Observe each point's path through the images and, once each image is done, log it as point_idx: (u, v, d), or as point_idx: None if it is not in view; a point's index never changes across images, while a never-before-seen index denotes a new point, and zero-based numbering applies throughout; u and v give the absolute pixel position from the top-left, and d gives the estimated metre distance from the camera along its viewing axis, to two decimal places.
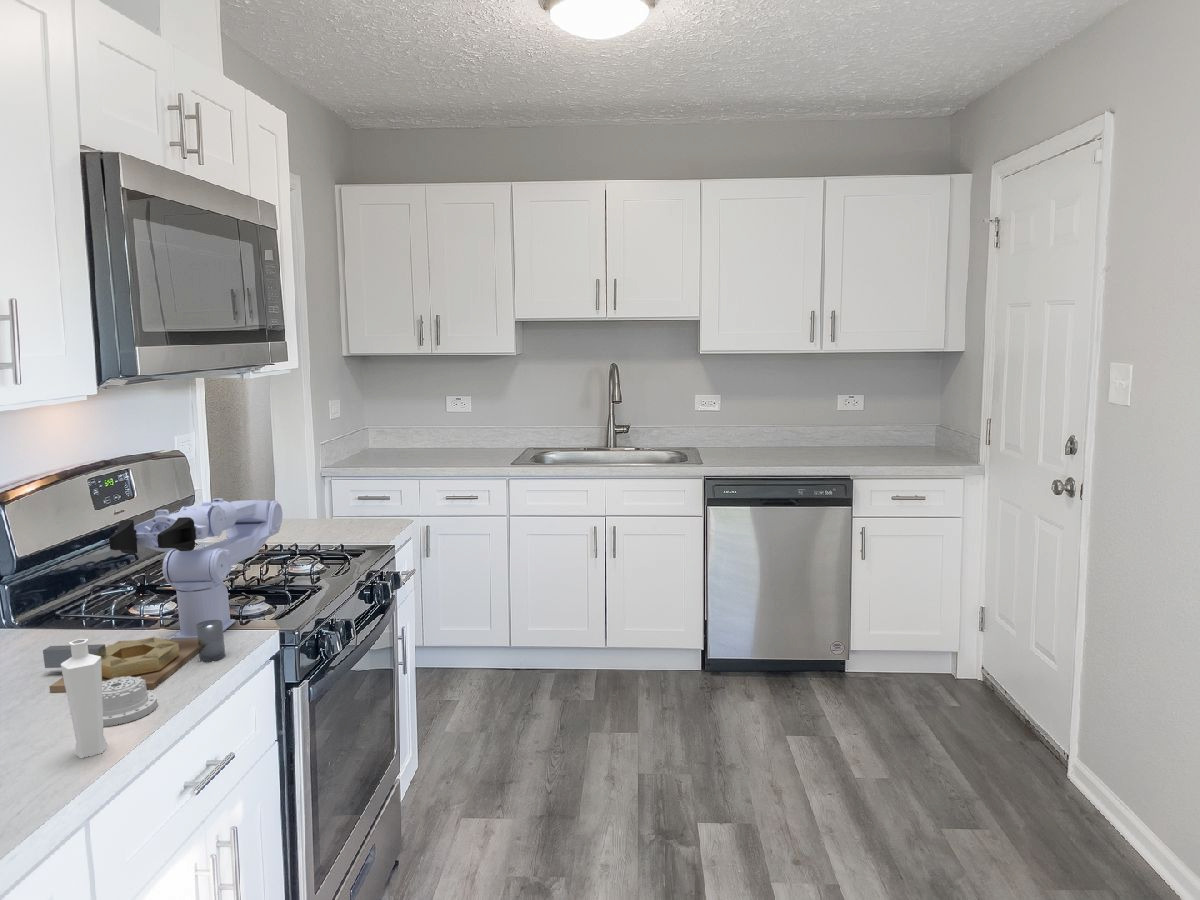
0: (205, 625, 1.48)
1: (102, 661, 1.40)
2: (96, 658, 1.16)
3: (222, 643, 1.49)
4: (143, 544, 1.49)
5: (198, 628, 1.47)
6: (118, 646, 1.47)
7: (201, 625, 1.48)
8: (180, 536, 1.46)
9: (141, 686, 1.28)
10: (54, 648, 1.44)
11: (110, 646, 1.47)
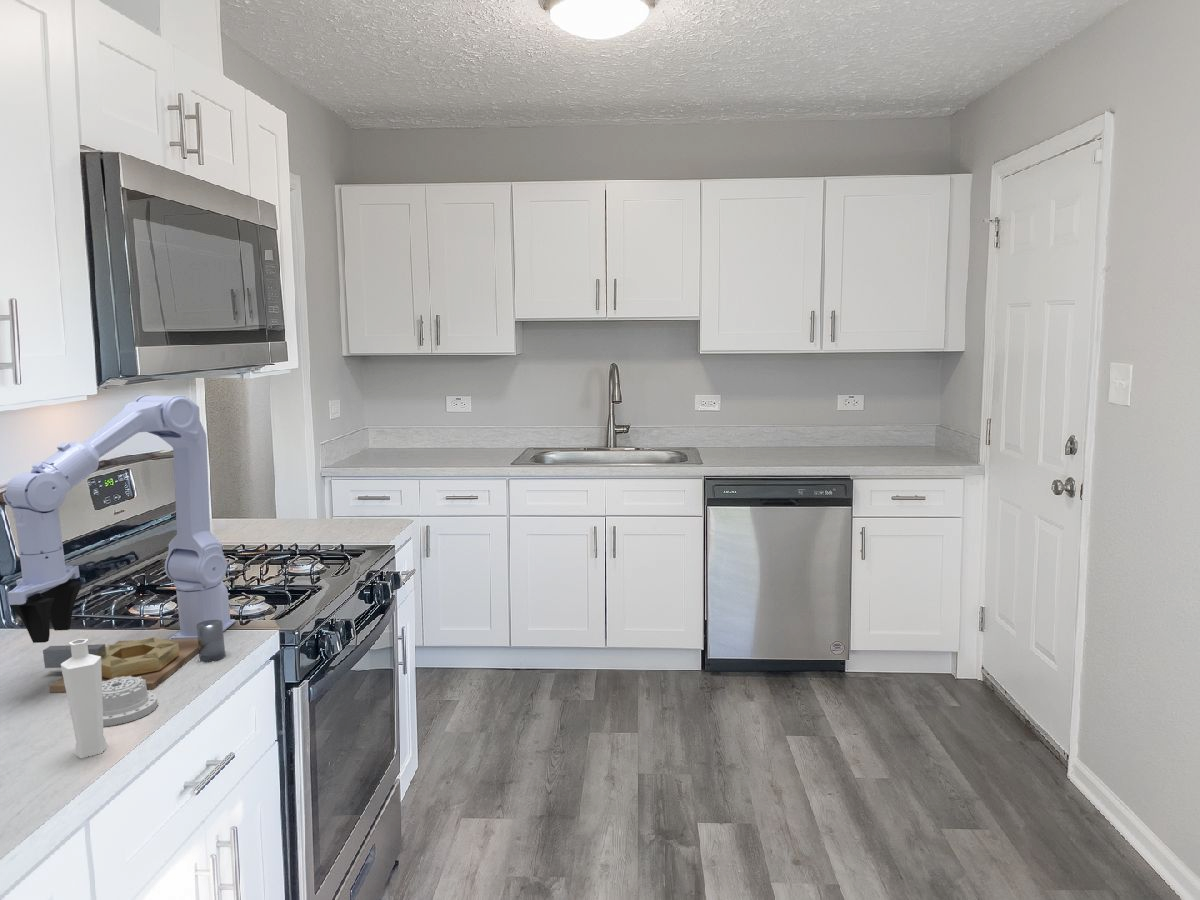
0: (205, 625, 1.48)
1: (102, 661, 1.40)
2: (96, 658, 1.16)
3: (222, 643, 1.49)
4: None
5: (198, 628, 1.47)
6: (118, 646, 1.47)
7: (201, 625, 1.48)
8: (35, 606, 1.34)
9: (141, 686, 1.28)
10: (54, 648, 1.44)
11: (110, 646, 1.47)
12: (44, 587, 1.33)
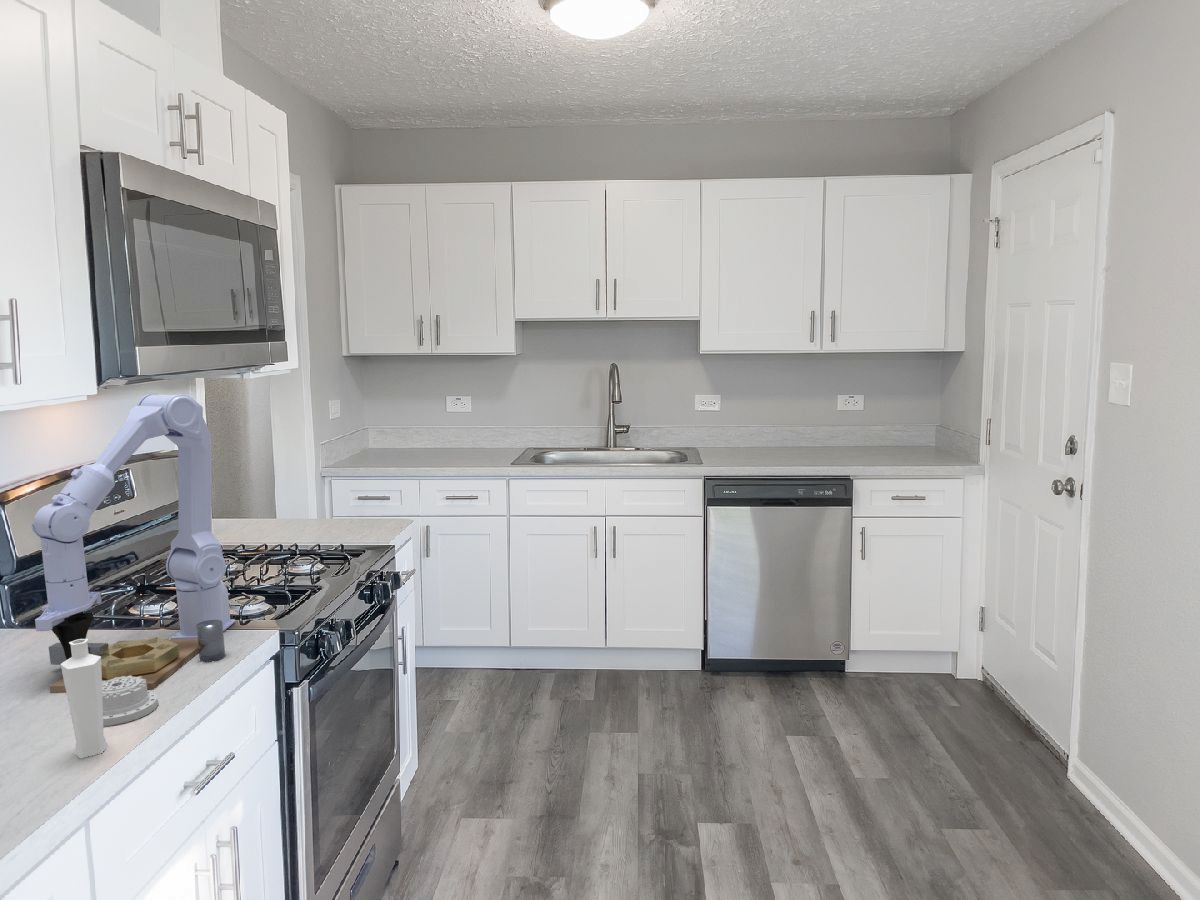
0: (205, 625, 1.48)
1: (101, 660, 1.41)
2: (96, 658, 1.16)
3: (222, 643, 1.49)
4: None
5: (198, 628, 1.47)
6: (121, 645, 1.47)
7: (201, 625, 1.48)
8: (71, 626, 1.42)
9: (142, 686, 1.28)
10: (60, 645, 1.45)
11: (114, 645, 1.47)
12: (69, 614, 1.39)
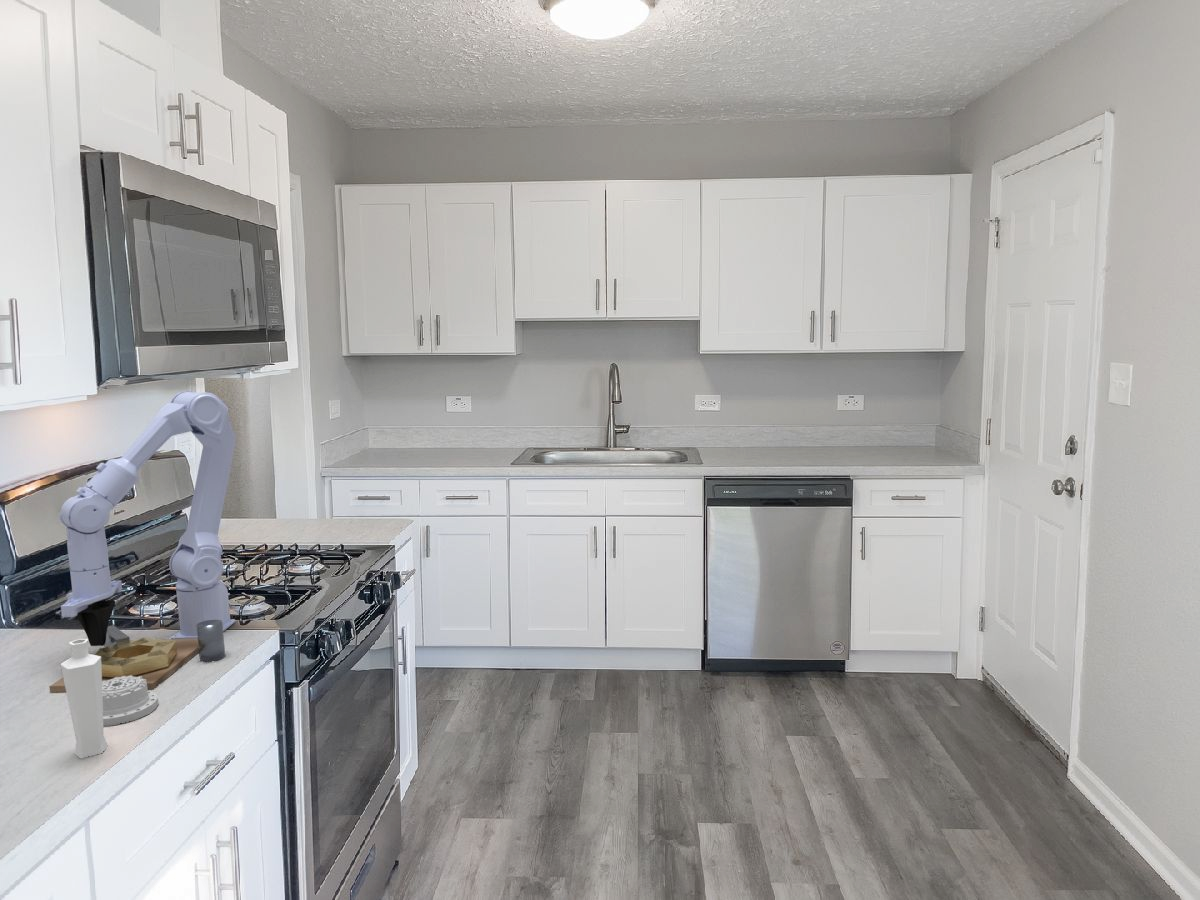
0: (205, 625, 1.48)
1: (100, 654, 1.43)
2: (96, 658, 1.16)
3: (222, 643, 1.49)
4: None
5: (198, 628, 1.47)
6: (142, 642, 1.49)
7: (201, 625, 1.48)
8: (93, 613, 1.49)
9: (142, 686, 1.28)
10: (108, 628, 1.53)
11: (139, 640, 1.50)
12: (93, 601, 1.46)
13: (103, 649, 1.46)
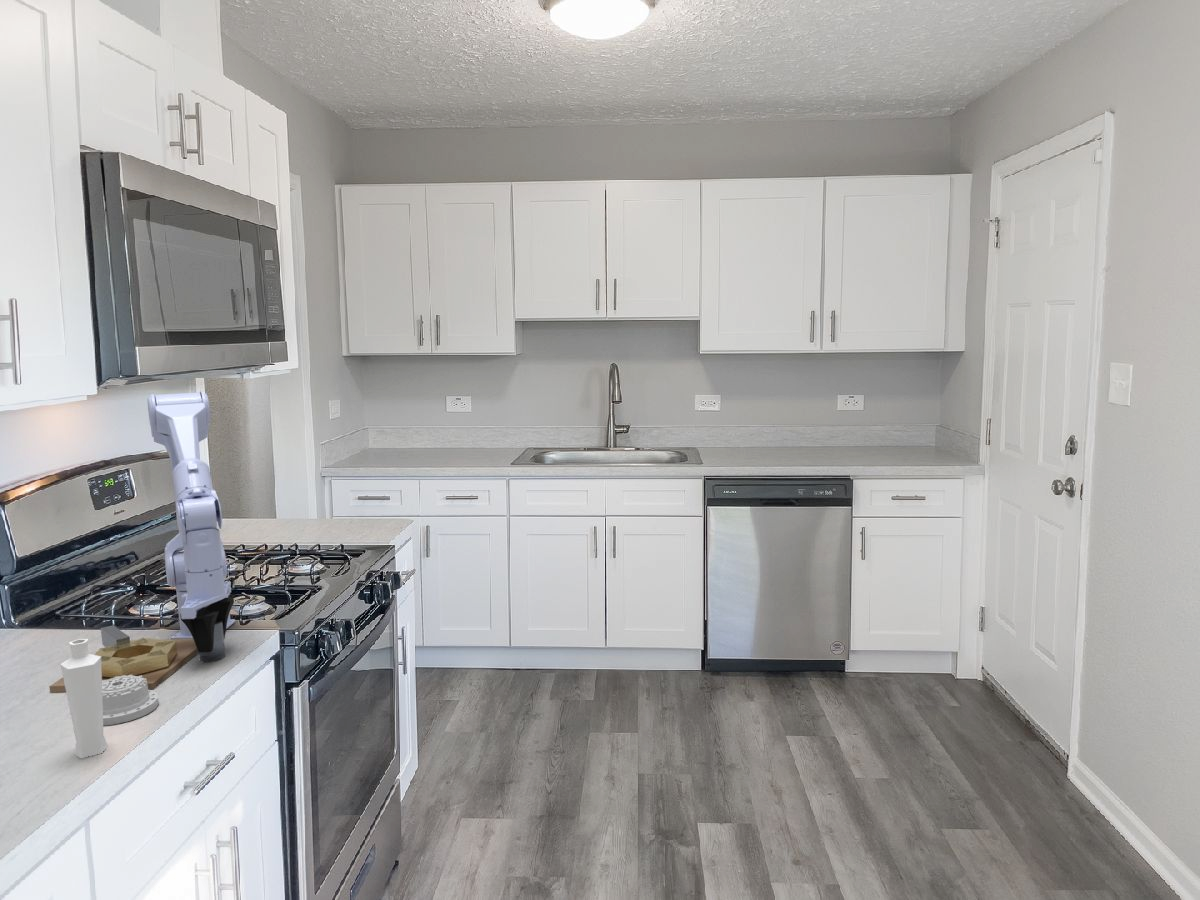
0: None
1: (100, 654, 1.43)
2: (96, 658, 1.16)
3: (222, 643, 1.49)
4: None
5: None
6: (142, 641, 1.49)
7: None
8: (202, 619, 1.46)
9: (142, 685, 1.29)
10: (108, 628, 1.53)
11: (139, 640, 1.50)
12: (209, 602, 1.45)
13: (103, 649, 1.46)
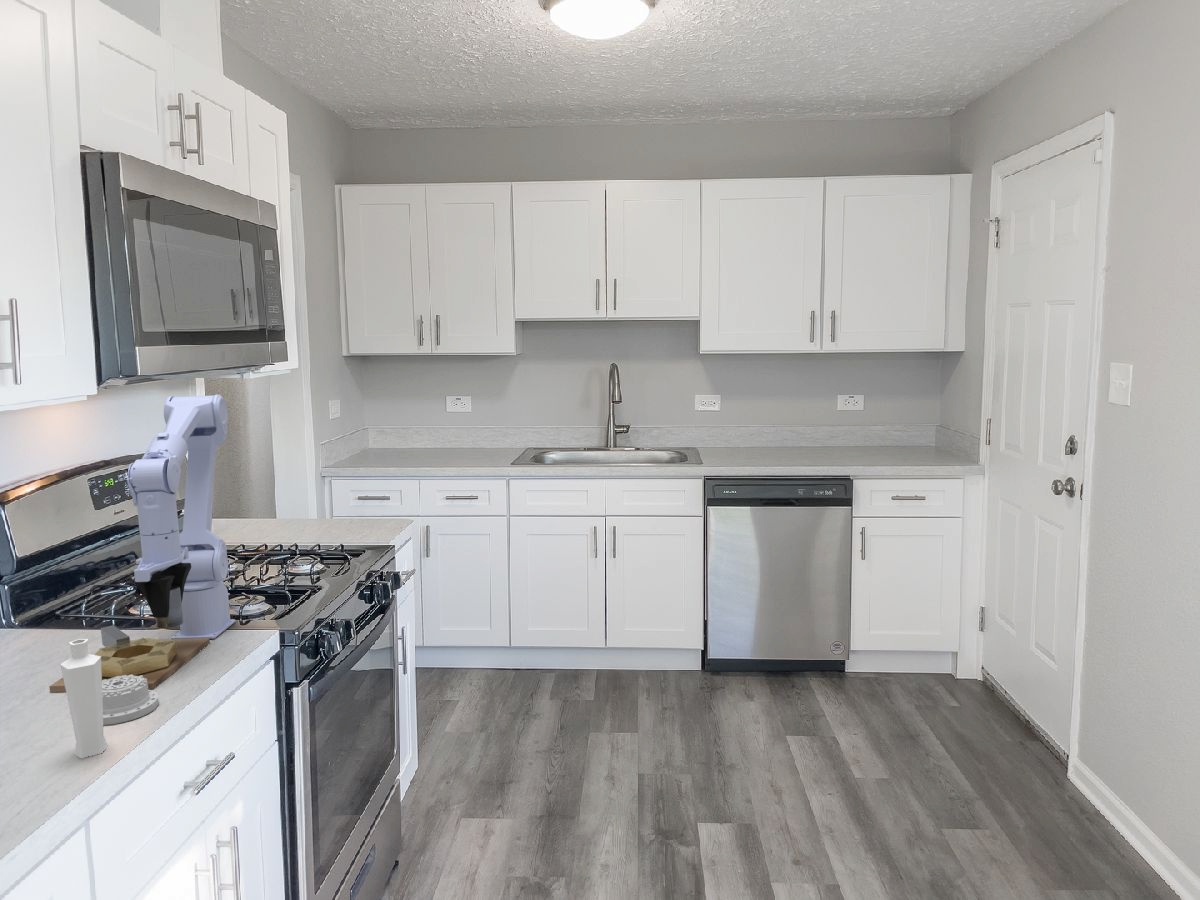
0: None
1: (100, 654, 1.43)
2: (96, 658, 1.16)
3: (180, 609, 1.46)
4: None
5: None
6: (142, 641, 1.49)
7: None
8: (157, 583, 1.42)
9: (143, 685, 1.29)
10: (108, 628, 1.53)
11: (139, 640, 1.50)
12: (165, 566, 1.41)
13: (103, 649, 1.46)
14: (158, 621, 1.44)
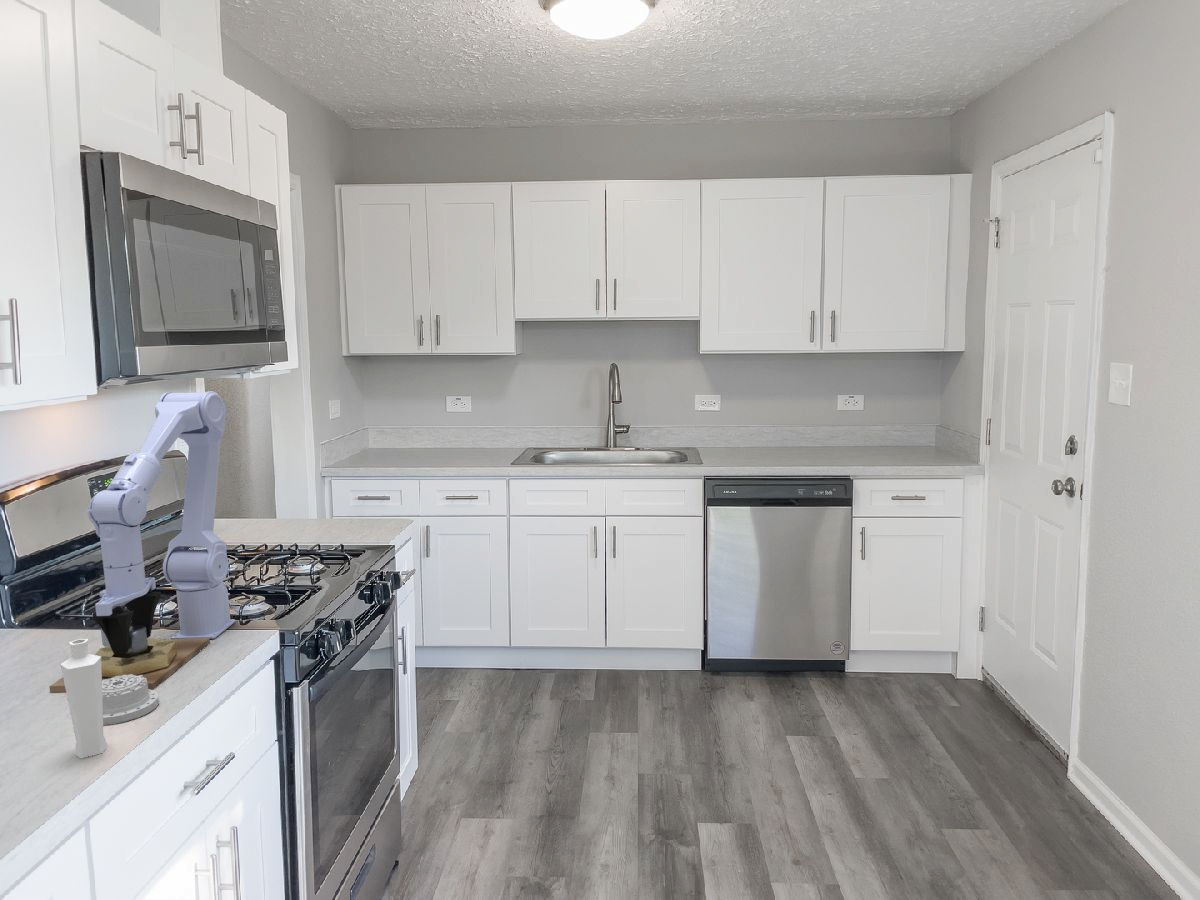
0: None
1: (100, 654, 1.43)
2: (96, 658, 1.16)
3: (146, 649, 1.44)
4: None
5: None
6: None
7: None
8: (116, 618, 1.39)
9: (142, 684, 1.29)
10: None
11: None
12: (128, 599, 1.40)
13: (103, 649, 1.46)
14: None
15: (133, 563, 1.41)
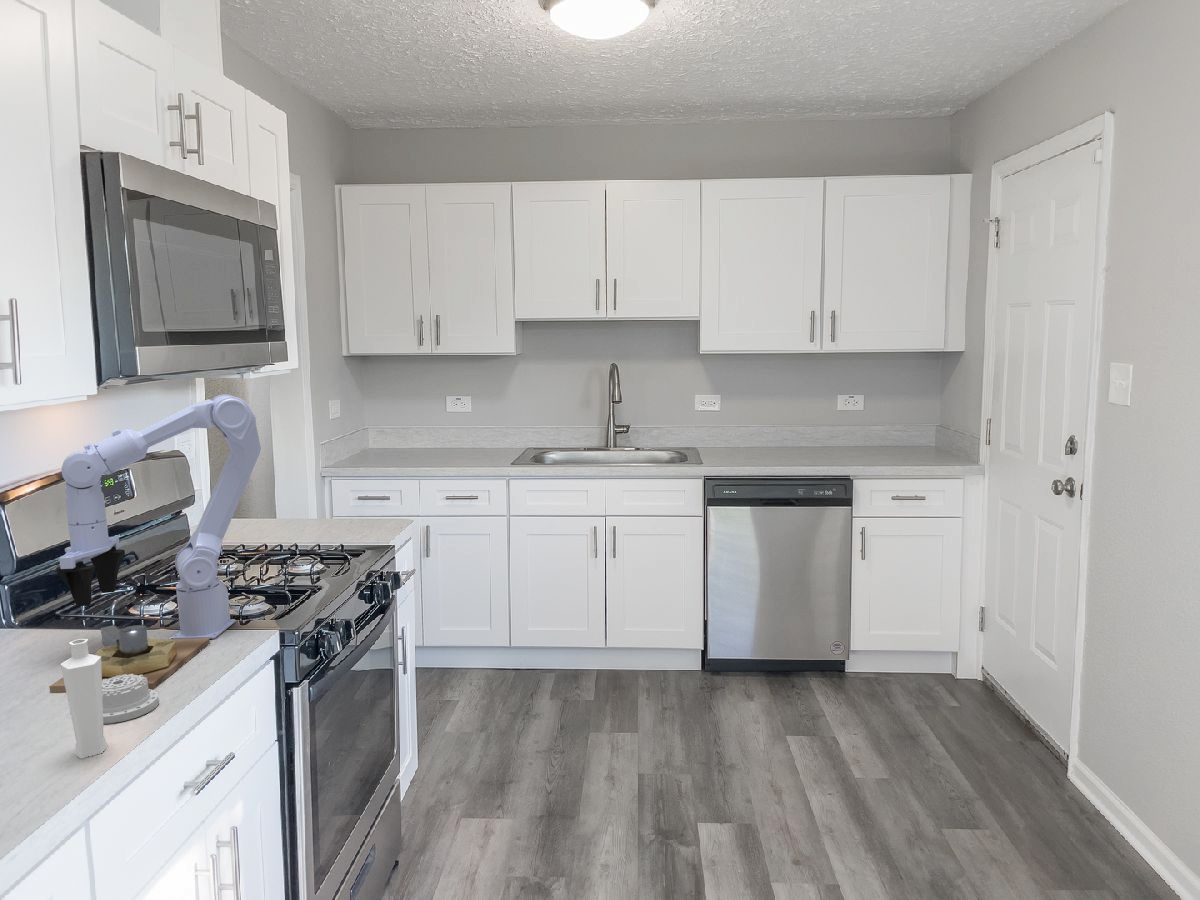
0: (128, 631, 1.43)
1: (100, 654, 1.43)
2: (96, 658, 1.16)
3: (146, 649, 1.44)
4: None
5: (120, 634, 1.42)
6: None
7: (124, 631, 1.43)
8: (78, 573, 1.48)
9: (142, 684, 1.29)
10: (108, 628, 1.53)
11: None
12: (91, 554, 1.49)
13: (103, 649, 1.46)
14: None
15: (79, 523, 1.49)
